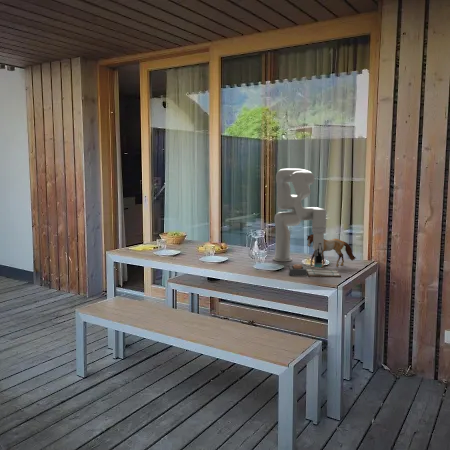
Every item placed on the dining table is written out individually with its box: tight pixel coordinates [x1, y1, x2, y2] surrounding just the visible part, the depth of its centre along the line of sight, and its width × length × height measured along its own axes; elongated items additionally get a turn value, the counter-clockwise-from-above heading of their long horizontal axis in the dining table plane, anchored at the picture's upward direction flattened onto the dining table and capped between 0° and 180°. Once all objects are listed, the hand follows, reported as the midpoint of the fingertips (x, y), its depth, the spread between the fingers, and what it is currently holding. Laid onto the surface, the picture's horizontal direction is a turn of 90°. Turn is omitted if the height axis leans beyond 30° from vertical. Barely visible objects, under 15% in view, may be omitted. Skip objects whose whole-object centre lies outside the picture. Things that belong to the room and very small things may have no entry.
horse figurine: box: [306, 233, 357, 269], centre depth 286 cm, size 31×8×21 cm, turn 96°
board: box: [306, 268, 342, 278], centre depth 268 cm, size 15×18×1 cm
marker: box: [313, 249, 323, 268], centre depth 267 cm, size 5×5×12 cm
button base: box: [288, 265, 308, 276], centre depth 268 cm, size 9×9×4 cm
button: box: [292, 263, 303, 269], centre depth 268 cm, size 5×5×2 cm
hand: (318, 261), depth 267 cm, fingers closed on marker, 4 cm apart
